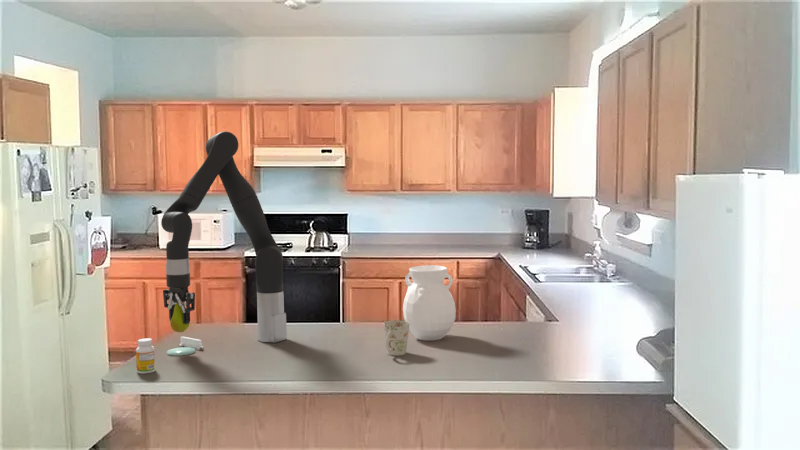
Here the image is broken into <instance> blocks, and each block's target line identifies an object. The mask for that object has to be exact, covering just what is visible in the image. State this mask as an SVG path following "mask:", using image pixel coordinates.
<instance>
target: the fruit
mask: <svg viewBox="0 0 800 450" xmlns="http://www.w3.org/2000/svg"><path fill="white" fill-rule="evenodd" d="M183 313H184V312H183V310H182V307H180V306H179V303H176V305H175V308H174V312H173V316H172V318H171V321H170V320H169V321H170V323H169V324H170V327H171V330H172V331H174V332H175V333H183V332H185V331H186V330H187V329H188V328H189V326H190V323H188V324H184V323H183Z"/></svg>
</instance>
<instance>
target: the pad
mask: <svg viewBox="0 0 800 450" xmlns="http://www.w3.org/2000/svg"><path fill="white" fill-rule="evenodd" d="M195 352H196V349H195V348H190V347H185V346H180V347H175V348H171V349H168V350H167V351H166V354H167V355H168V356H171V357H172V356H174V357H179V356H183V357H184V356H189V355H192V354H194V353H195Z"/></svg>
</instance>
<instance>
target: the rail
mask: <svg viewBox="0 0 800 450" xmlns="http://www.w3.org/2000/svg"><path fill="white" fill-rule="evenodd" d="M179 338H180V340H179V341H180V343H179V344H178V346H179V347H189V348H194V349H195V351H199V350H204V349H205V348H204V347H205V346H203V344H202V343H203V341H202V339H199V338H192V337H188V336H184V335H183V336H180V337H179Z"/></svg>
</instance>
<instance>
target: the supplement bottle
mask: <svg viewBox="0 0 800 450" xmlns="http://www.w3.org/2000/svg"><path fill="white" fill-rule="evenodd" d="M137 346H138V347H136V349H135V360H136V361H135V362H136V373H138V374H142V375H143V374H151V373H153V372H156V349H155V346H153V339H152V338H151V337H148V338H147V337H145V338H140V339H138V340H137Z"/></svg>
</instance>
